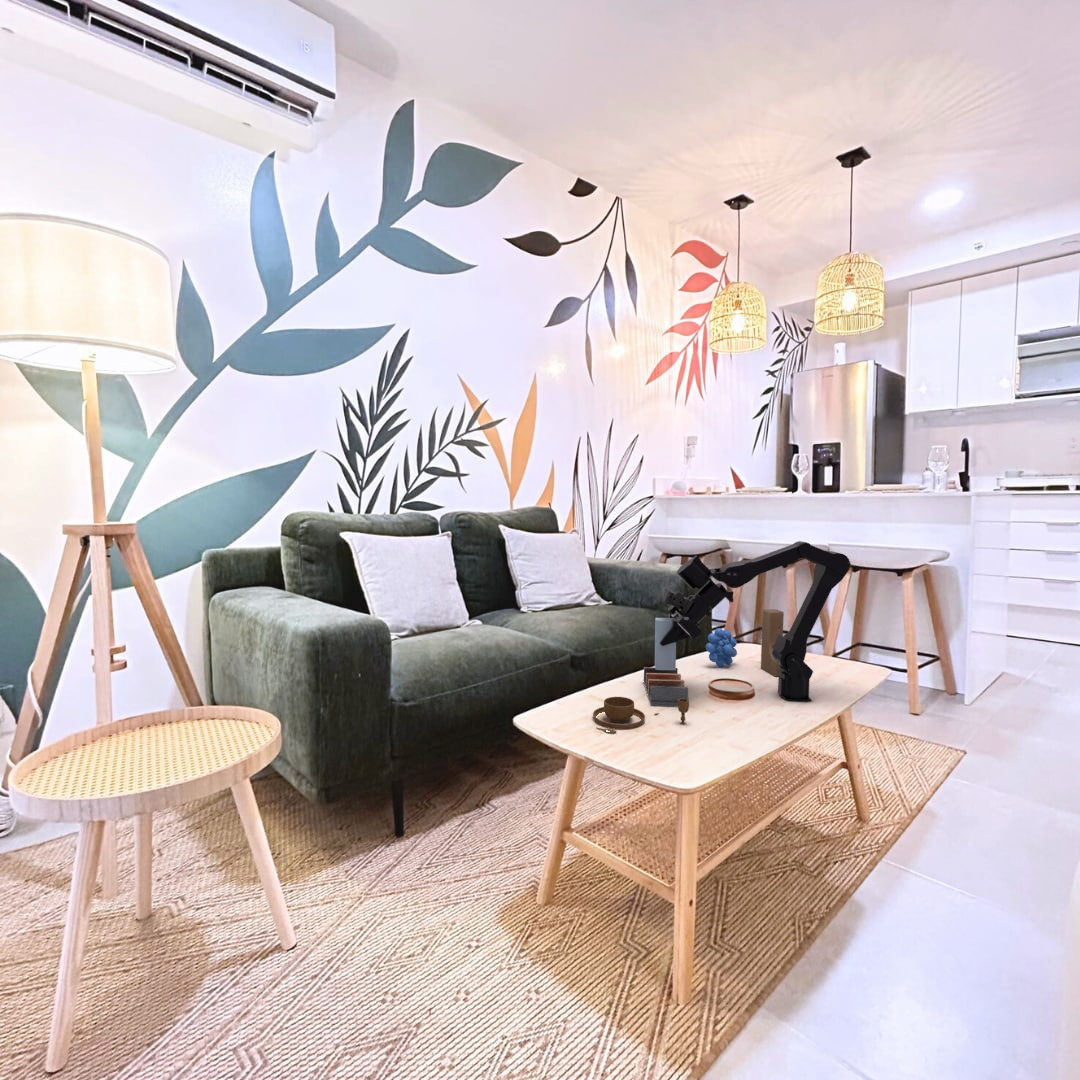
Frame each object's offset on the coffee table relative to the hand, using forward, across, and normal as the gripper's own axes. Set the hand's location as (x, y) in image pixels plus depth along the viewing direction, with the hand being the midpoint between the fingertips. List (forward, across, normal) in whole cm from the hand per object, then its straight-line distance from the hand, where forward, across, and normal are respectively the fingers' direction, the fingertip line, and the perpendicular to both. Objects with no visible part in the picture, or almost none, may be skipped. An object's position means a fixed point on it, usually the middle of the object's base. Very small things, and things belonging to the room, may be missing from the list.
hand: (660, 643), depth 157 cm
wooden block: (-16, -22, +36) cm, 45 cm away
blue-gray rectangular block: (+4, 0, +6) cm, 7 cm away
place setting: (+16, +21, +4) cm, 27 cm away
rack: (+9, 0, +10) cm, 14 cm away
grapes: (-6, -26, +26) cm, 37 cm away
